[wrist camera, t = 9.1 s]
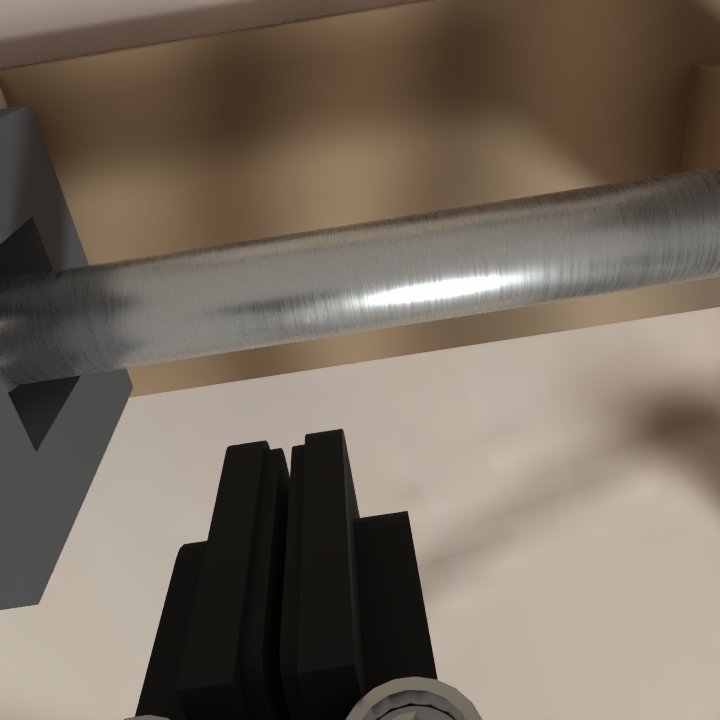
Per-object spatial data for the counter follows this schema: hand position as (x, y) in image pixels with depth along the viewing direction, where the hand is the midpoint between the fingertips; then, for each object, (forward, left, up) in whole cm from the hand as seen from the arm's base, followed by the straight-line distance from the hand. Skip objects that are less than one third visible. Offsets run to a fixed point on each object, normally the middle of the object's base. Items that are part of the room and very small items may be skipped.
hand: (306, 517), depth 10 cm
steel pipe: (+1, +2, -8) cm, 8 cm away
